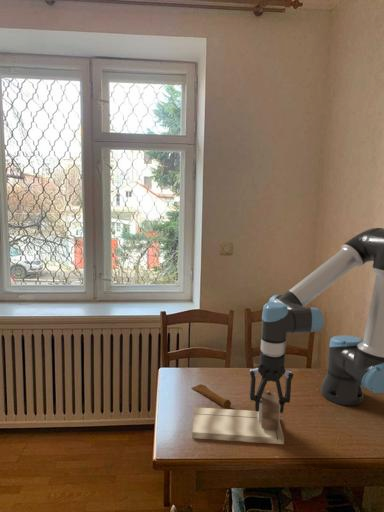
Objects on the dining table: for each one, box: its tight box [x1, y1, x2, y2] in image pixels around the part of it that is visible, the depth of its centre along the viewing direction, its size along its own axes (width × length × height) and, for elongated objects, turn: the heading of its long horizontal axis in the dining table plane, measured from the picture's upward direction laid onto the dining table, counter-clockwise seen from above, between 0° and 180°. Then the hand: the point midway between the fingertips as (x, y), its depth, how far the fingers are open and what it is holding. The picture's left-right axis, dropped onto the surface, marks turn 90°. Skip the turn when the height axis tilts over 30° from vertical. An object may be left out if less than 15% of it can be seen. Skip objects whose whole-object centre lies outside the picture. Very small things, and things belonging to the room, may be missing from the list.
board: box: [191, 406, 285, 445], centre depth 124 cm, size 28×14×2 cm, turn 86°
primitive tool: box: [191, 383, 232, 409], centre depth 143 cm, size 19×6×4 cm, turn 38°
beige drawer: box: [261, 390, 280, 429], centre depth 123 cm, size 5×8×9 cm, turn 176°
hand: (268, 420), depth 123 cm, fingers closed on beige drawer, 5 cm apart
